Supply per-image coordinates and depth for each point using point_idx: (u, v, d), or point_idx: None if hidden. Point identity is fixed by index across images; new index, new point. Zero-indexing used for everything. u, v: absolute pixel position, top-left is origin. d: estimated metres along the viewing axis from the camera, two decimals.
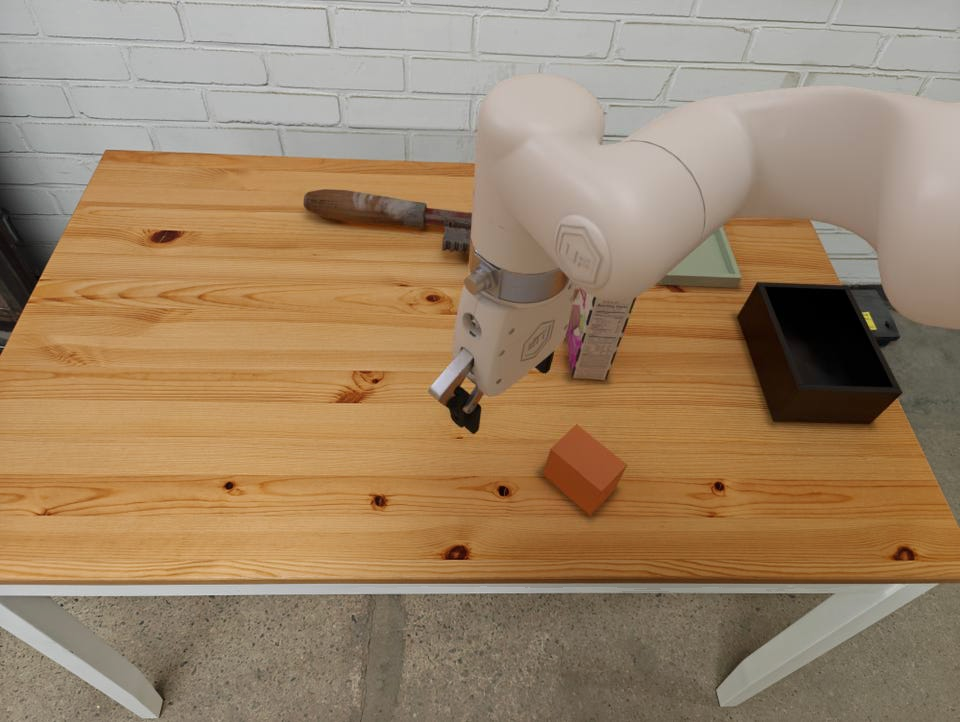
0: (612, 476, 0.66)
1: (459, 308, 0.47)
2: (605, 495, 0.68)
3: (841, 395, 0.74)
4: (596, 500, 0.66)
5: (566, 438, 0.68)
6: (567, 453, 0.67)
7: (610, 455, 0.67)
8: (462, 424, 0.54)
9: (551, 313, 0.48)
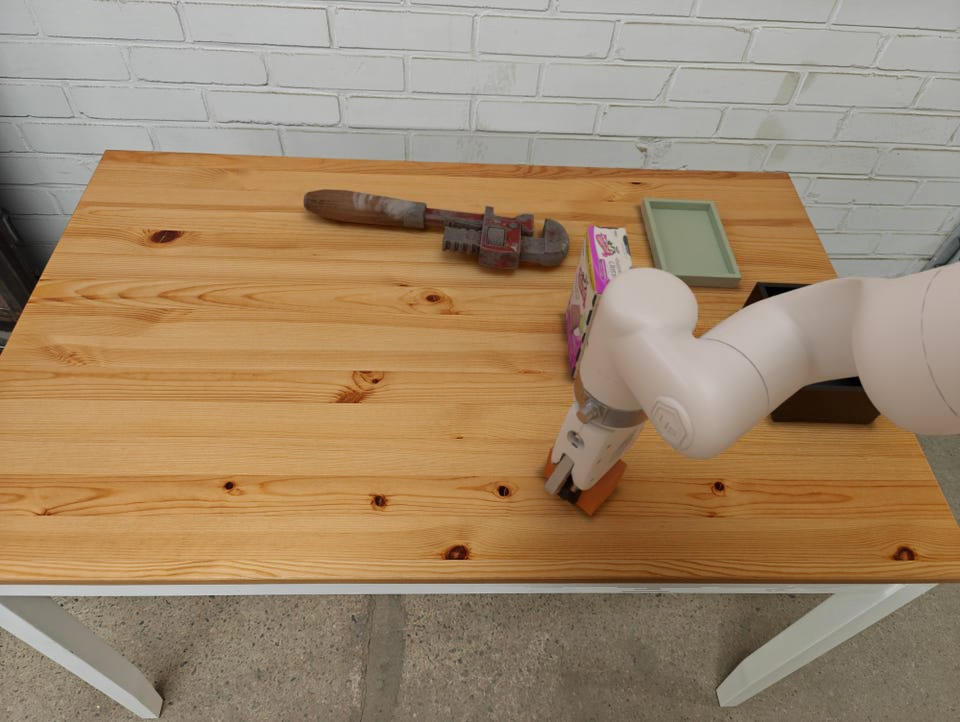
0: (612, 476, 0.66)
1: (564, 425, 0.58)
2: (605, 495, 0.68)
3: (841, 395, 0.74)
4: (596, 500, 0.66)
5: None
6: None
7: None
8: (566, 498, 0.68)
9: None
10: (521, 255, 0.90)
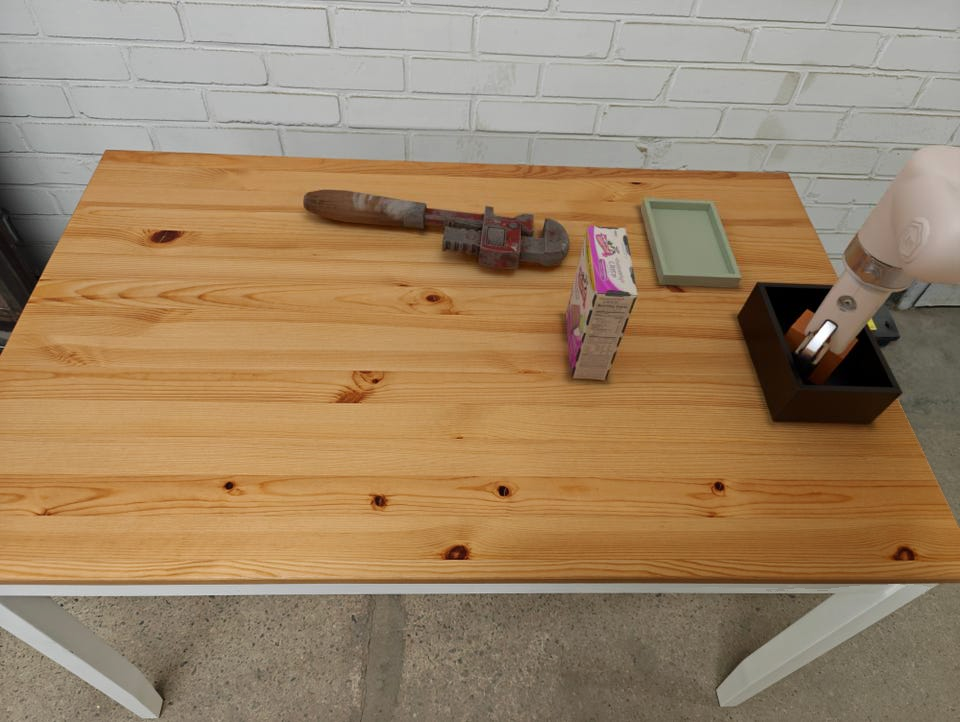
0: (848, 348, 0.77)
1: (835, 292, 0.70)
2: None
3: (841, 395, 0.74)
4: (833, 369, 0.78)
5: (802, 319, 0.80)
6: None
7: None
8: (800, 375, 0.78)
9: None
10: (521, 255, 0.90)
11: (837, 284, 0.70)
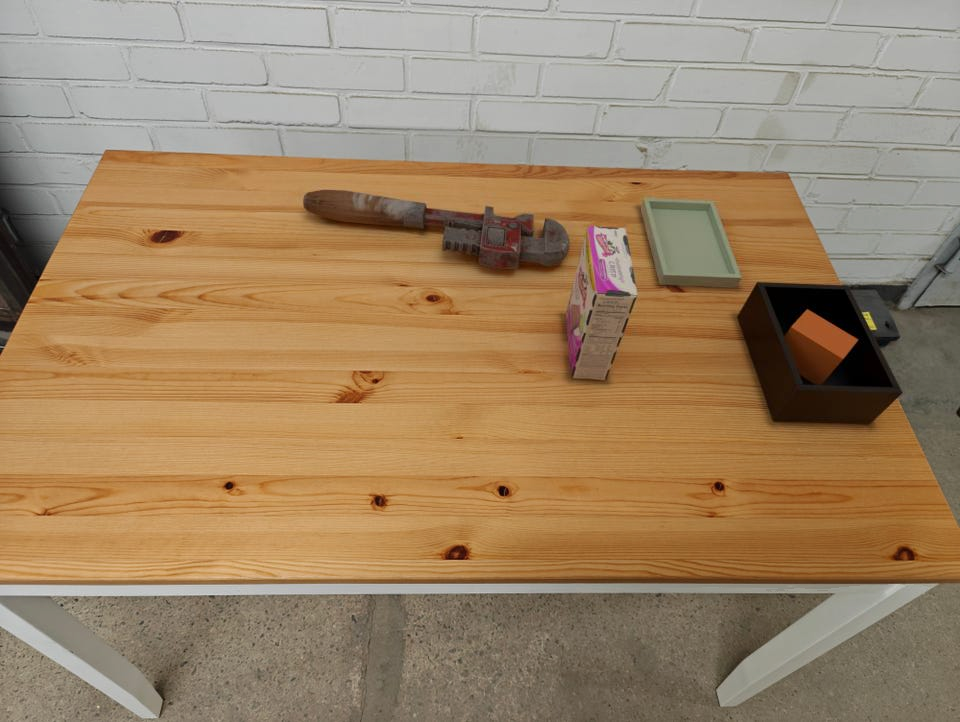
0: (848, 348, 0.77)
1: None
2: None
3: (841, 395, 0.74)
4: (833, 369, 0.78)
5: (802, 319, 0.80)
6: (806, 330, 0.79)
7: (842, 332, 0.79)
8: None
9: None
10: (521, 255, 0.90)
11: None
